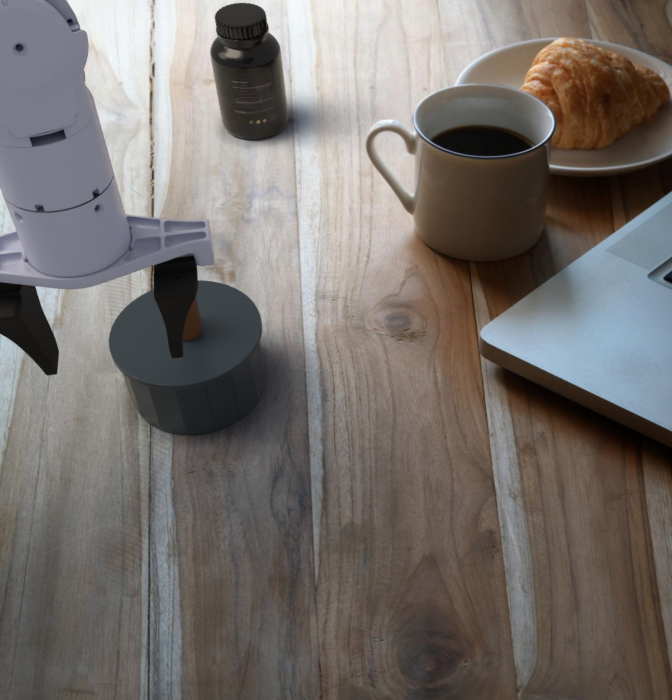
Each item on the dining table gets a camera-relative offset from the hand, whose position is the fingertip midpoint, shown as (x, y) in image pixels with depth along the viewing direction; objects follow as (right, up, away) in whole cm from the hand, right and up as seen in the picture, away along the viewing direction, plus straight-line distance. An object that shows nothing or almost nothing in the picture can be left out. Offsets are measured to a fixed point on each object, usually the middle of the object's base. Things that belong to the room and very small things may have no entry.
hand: (115, 355), depth 59 cm
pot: (+2, -2, +12) cm, 13 cm away
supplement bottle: (+1, +24, +37) cm, 44 cm away
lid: (+2, +1, +8) cm, 9 cm away
